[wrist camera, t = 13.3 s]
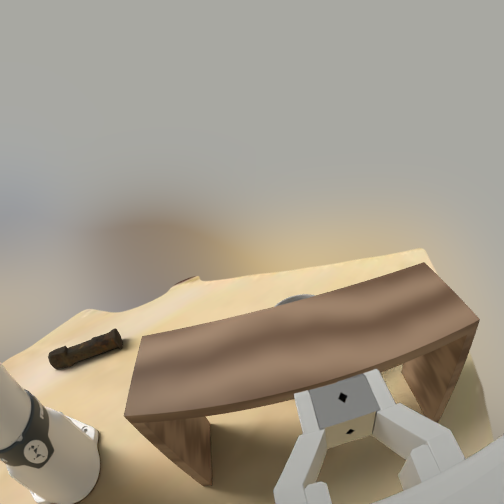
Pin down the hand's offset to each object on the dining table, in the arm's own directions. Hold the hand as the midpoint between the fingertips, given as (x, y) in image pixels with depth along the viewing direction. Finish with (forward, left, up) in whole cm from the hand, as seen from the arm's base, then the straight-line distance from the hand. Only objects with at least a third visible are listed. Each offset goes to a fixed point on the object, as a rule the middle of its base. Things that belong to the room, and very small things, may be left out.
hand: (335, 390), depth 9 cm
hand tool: (-54, +10, -28) cm, 62 cm away
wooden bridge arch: (-6, +10, -28) cm, 30 cm away
